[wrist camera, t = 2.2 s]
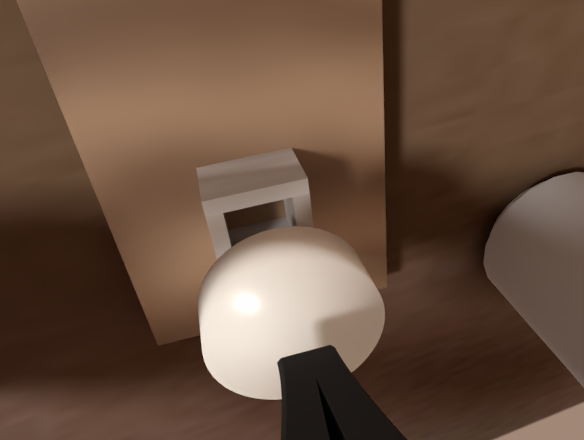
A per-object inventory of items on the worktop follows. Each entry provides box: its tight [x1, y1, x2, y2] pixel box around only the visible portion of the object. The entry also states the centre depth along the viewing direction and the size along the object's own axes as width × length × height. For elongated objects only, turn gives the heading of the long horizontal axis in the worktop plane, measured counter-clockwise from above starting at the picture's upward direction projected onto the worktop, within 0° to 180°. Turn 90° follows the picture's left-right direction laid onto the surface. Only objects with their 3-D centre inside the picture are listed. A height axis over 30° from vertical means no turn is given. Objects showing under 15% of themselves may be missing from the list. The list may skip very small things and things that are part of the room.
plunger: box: [198, 226, 385, 400], centre depth 15 cm, size 5×5×4 cm
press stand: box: [16, 0, 387, 346], centre depth 15 cm, size 26×11×4 cm, turn 7°
